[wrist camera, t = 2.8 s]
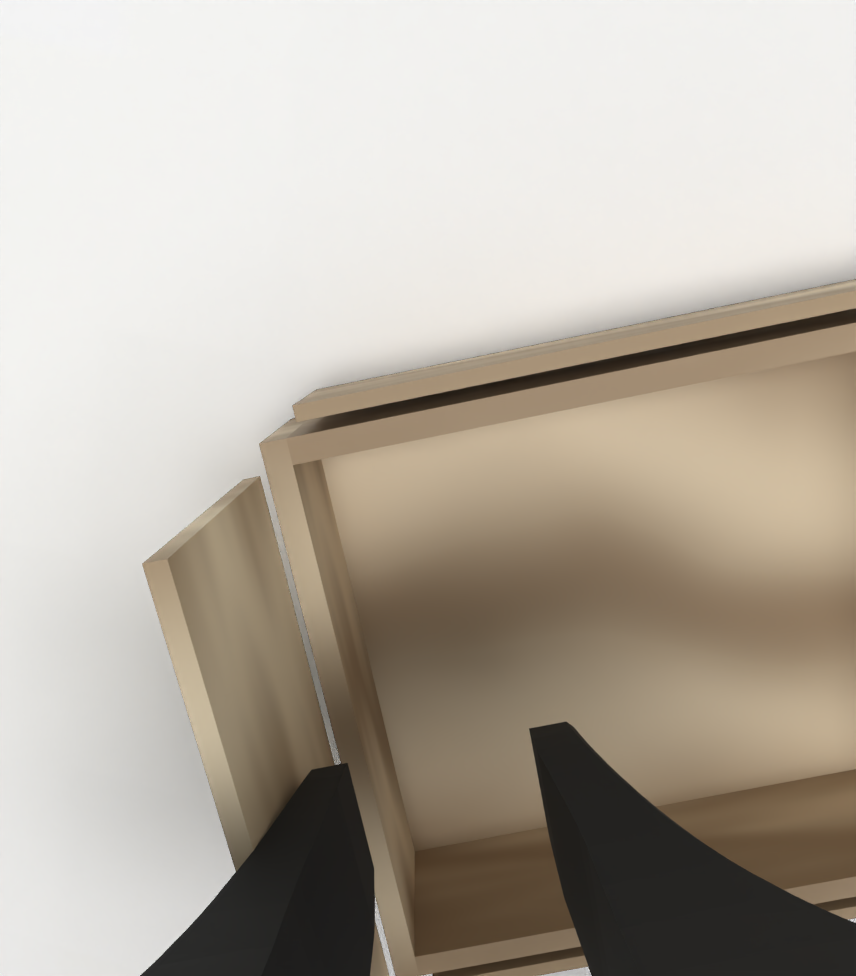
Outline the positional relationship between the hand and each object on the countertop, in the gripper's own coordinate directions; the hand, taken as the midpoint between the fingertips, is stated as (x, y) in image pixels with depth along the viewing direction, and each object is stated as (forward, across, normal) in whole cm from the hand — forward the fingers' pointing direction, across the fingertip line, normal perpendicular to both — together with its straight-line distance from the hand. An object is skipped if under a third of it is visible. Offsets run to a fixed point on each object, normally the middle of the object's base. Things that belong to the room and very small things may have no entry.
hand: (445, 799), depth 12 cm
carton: (+6, -5, 0) cm, 8 cm away
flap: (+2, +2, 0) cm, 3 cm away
